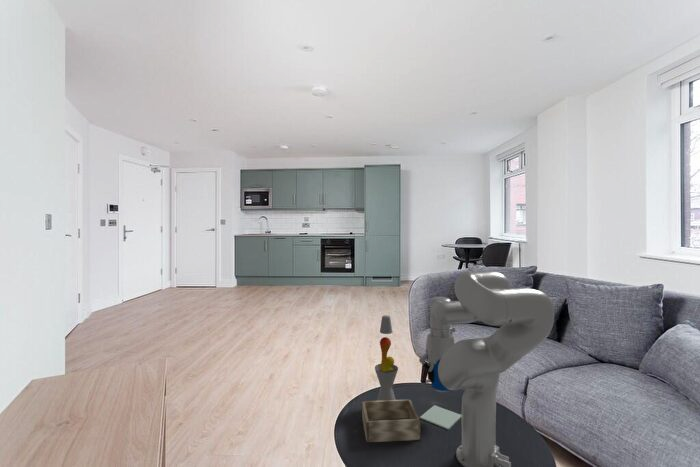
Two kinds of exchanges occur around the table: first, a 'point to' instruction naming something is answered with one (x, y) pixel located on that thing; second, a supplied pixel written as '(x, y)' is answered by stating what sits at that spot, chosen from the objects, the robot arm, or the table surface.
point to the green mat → (441, 417)
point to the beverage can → (437, 379)
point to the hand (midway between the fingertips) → (440, 380)
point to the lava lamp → (386, 363)
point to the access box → (390, 428)
